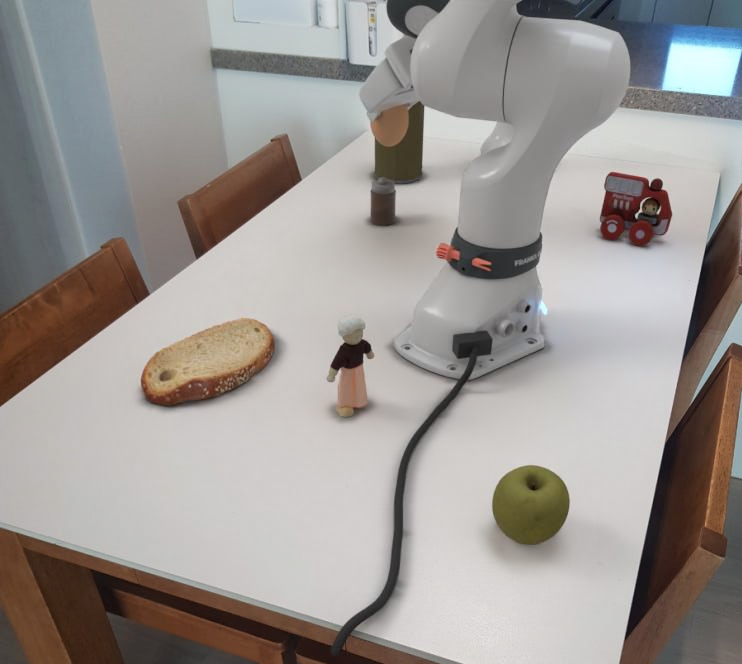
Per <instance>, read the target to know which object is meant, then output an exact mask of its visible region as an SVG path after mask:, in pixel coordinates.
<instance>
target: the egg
mask: <svg viewBox="0 0 742 664" xmlns="http://www.w3.org/2000/svg"><path fill="white" fill-rule="evenodd" d="M381 112H382V116H381V117H380V118H379V119H378V120H376V121H372V122H371V121H370V120H369V125H370V130H371V133H372V136H373V138H374V139H375V138H376V140H377V141H378V142H379V143H380V144H382V145H384V146H387V147H391V146H394V145H396V144H398V143H399V142H400V141H401V140H402V139H403V137H404V136H405V134H406V132H407V129H408V124H409V114H408V108H407V105H406V104H403V105H399V106H396V107H393V108H389V109H386V110H383V111H381Z"/></svg>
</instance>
